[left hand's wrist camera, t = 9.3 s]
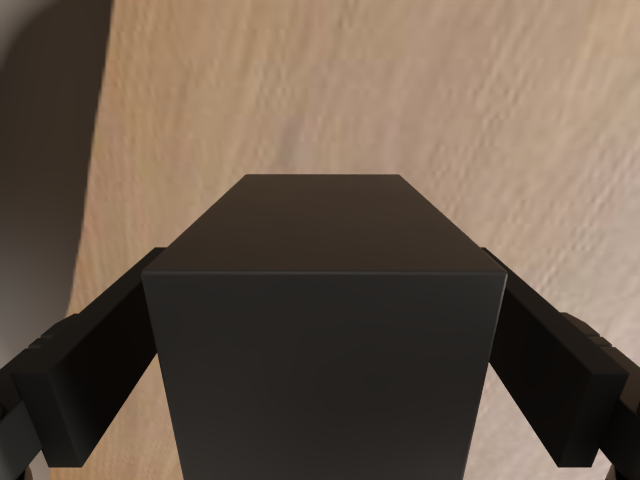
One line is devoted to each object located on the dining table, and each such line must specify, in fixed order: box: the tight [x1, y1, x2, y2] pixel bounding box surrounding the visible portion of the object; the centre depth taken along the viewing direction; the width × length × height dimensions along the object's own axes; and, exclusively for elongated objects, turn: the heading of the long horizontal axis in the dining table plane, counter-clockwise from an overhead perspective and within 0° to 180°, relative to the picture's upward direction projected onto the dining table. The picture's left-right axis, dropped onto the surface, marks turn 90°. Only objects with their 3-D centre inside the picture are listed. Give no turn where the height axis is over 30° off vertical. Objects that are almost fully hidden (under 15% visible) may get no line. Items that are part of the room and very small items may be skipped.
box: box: [141, 174, 508, 480], centre depth 14 cm, size 23×6×9 cm, turn 0°
